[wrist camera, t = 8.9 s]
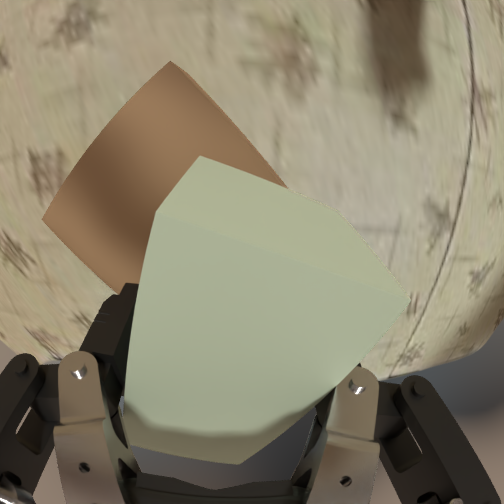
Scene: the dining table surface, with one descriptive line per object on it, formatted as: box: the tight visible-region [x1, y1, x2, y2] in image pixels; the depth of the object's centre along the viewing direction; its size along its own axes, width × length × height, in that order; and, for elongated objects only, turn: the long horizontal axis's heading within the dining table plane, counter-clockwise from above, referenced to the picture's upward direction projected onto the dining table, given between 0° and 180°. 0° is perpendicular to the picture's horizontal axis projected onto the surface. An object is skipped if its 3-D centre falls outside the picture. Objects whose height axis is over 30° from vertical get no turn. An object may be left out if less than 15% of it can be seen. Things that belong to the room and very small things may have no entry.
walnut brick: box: [42, 61, 288, 295], centre depth 14 cm, size 9×16×4 cm, turn 39°
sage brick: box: [123, 156, 411, 464], centre depth 9 cm, size 5×10×5 cm, turn 158°
